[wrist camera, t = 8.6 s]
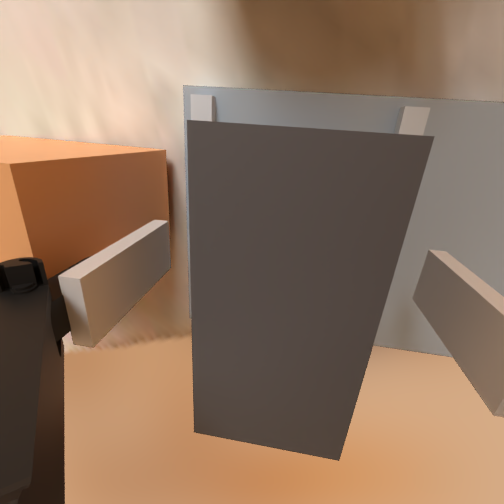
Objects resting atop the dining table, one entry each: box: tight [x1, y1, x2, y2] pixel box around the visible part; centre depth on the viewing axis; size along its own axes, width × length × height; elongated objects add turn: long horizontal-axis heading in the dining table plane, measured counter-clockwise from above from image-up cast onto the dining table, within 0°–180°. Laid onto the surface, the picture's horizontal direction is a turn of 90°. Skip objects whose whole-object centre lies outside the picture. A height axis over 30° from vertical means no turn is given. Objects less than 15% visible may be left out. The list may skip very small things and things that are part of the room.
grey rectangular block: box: [187, 120, 435, 461], centre depth 14 cm, size 12×6×10 cm, turn 176°
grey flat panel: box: [183, 85, 504, 357], centre depth 18 cm, size 16×25×2 cm, turn 86°
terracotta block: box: [0, 136, 170, 280], centre depth 15 cm, size 12×6×10 cm, turn 86°
